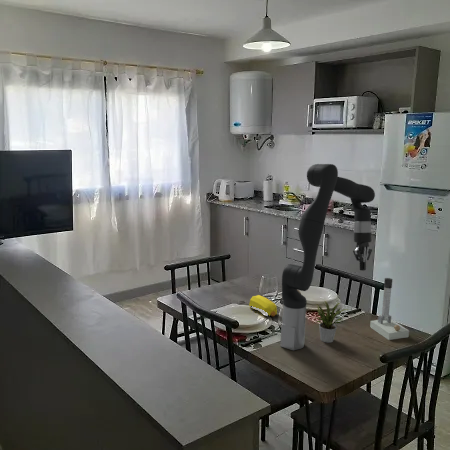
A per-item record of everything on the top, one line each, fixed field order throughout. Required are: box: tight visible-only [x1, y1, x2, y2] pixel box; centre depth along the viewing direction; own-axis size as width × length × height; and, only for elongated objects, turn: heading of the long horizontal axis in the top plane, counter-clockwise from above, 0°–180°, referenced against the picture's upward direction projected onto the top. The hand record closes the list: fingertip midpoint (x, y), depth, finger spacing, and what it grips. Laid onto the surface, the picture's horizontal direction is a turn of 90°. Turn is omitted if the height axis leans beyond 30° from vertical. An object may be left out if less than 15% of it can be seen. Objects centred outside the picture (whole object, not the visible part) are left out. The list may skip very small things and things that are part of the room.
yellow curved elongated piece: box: [248, 294, 278, 317], centre depth 217 cm, size 18×7×8 cm
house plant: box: [315, 300, 349, 343], centre depth 188 cm, size 14×14×16 cm
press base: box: [369, 314, 410, 341], centre depth 197 cm, size 13×10×6 cm
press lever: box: [381, 277, 393, 321], centre depth 198 cm, size 3×3×19 cm
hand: (362, 270), depth 204 cm, fingers closed
